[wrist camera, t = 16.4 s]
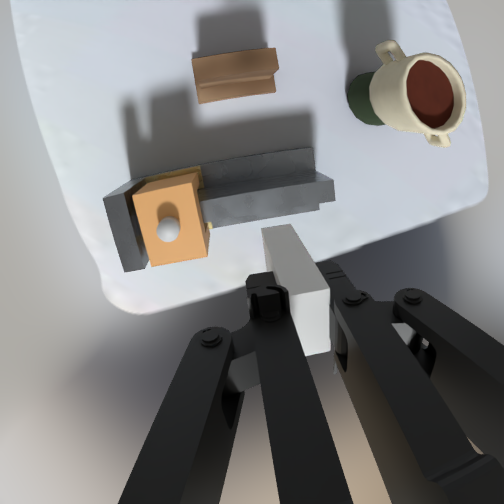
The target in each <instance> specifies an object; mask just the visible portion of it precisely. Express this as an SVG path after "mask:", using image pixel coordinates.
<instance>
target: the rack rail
mask: <svg viewBox="0 0 504 504" xmlns="http://www.w3.org/2000/svg"><path fill="white" fill-rule="evenodd" d="M195 172H197V173H198V178H199V183H200V184H199V187H198V189H197V194H198V199H199V204H200V209H201V213H202V218H203V223H208V227H209V229H213V228H217V227H223V226H228V225H234V224H239V223H245V222H251V221H256V220H262V219H268V218H274V217H280V216H286V215H292V214H298V213H304V212H310V211H316V210H319V203H325V202H331V201H335V190H334V180H333V179H331V178H329V177H327V176H325V175H323V174H321V173H319V172H318V171H316V170H315V162H314V154H313V148H311V147H308V148H300V149H292V150H285V151H277V152H271V153H264V154H257V155H251V156H245V157H239V158H233V159H227V160H222V161H216V162H211V163H206V164H201V165H196V166H191V167H186V168H181V169H176V170H172V171H167V172H163V173H158V174H154V175H150V176H145V177H141V178H137V179H133V180H130V181H129V182H127V183H125V184H124V185H122V186H121V187H119V188H117V189H116V190H114V191H113V192H111V193H110V194H108V195H107V196H105V197H104V198H103V201H104V205H105V209H106V213H107V216H108V220H109V223H110V227H111V230H112V234H113V237H114V240H115V244H116V247H117V250H118V253H119V257H120V260H121V263H122V266H123V269H124V272H130V271H135V270H141V269H145V267H146V265H147V263H148V261H149V256H148V253H147V250H146V246H145V243H144V239H143V235H142V232H141V228H140V224H139V221H138V217H137V213H136V209H135V205H134V201H133V197H132V195H134V194H135V193H136V192H137V191H139V190H140V189H141V188H142V187H144V186H145V185H146V184H147V183H149V182H154V181H158V180H163V179H167V178H172V177H176V176H181V175H186V174H191V173H195Z"/></svg>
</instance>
